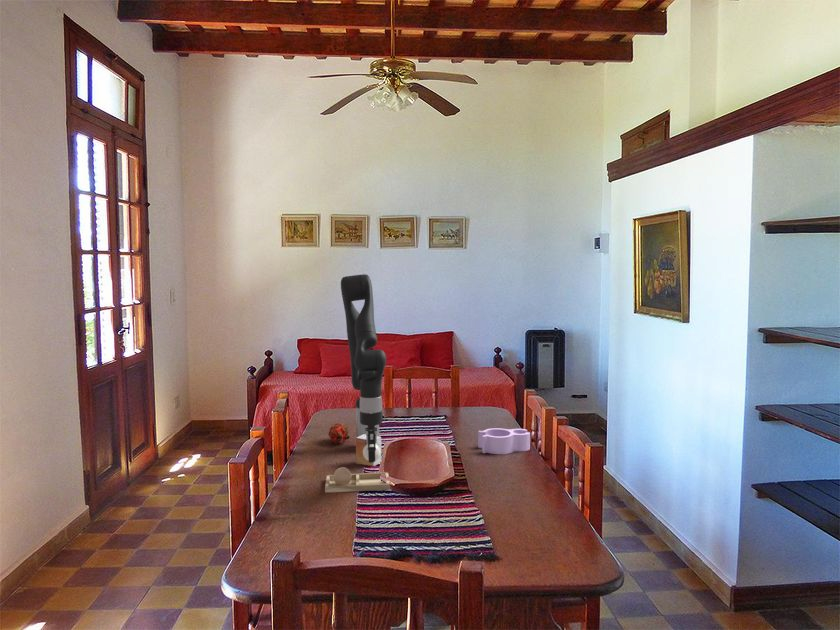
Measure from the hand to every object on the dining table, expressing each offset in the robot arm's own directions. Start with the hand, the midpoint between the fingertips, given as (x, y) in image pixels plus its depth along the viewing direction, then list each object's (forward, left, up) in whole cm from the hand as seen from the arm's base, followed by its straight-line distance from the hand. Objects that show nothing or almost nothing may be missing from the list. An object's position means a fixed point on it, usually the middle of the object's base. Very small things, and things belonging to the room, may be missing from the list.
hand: (371, 458), depth 189 cm
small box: (-21, -1, -10) cm, 23 cm away
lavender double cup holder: (-32, +54, -10) cm, 64 cm away
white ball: (0, 0, -1) cm, 1 cm away
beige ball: (0, -10, -9) cm, 13 cm away
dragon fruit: (-49, -13, -10) cm, 52 cm away
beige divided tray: (0, -5, -10) cm, 11 cm away
